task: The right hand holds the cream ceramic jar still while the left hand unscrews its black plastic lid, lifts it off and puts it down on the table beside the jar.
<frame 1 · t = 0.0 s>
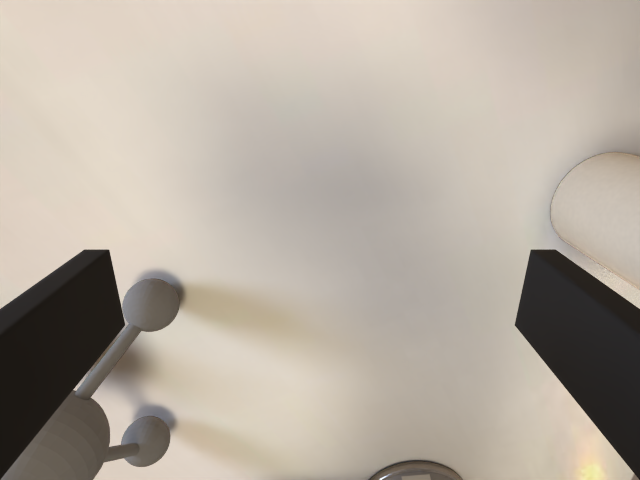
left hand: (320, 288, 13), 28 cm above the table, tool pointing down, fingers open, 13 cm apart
jar: (601, 202, 41), on the table
molecular model: (128, 340, 47), on the table
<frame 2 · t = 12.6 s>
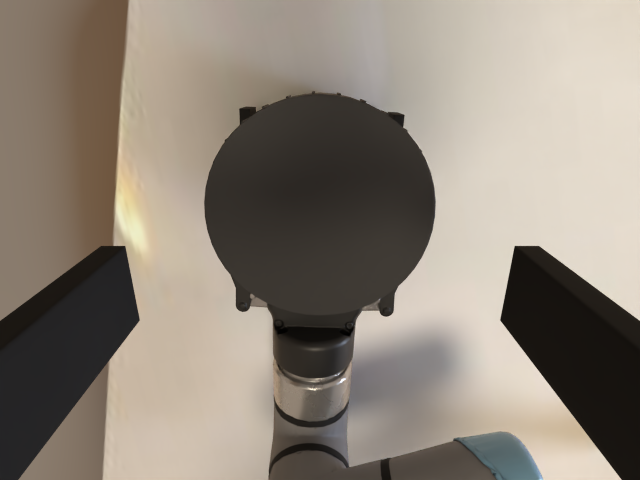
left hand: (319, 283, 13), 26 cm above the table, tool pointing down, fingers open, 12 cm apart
lid: (319, 214, 20), point 19 cm above the table, screwed on, not yet turned
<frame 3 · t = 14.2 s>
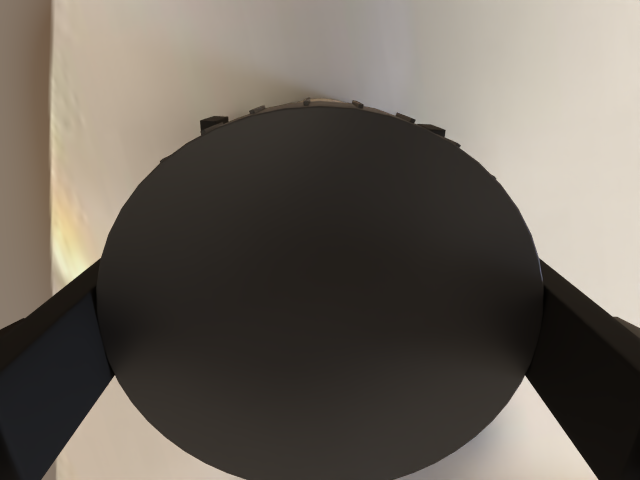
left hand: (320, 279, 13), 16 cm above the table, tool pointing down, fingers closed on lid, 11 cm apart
lid: (319, 329, 10), point 19 cm above the table, screwed on, not yet turned, touching left hand
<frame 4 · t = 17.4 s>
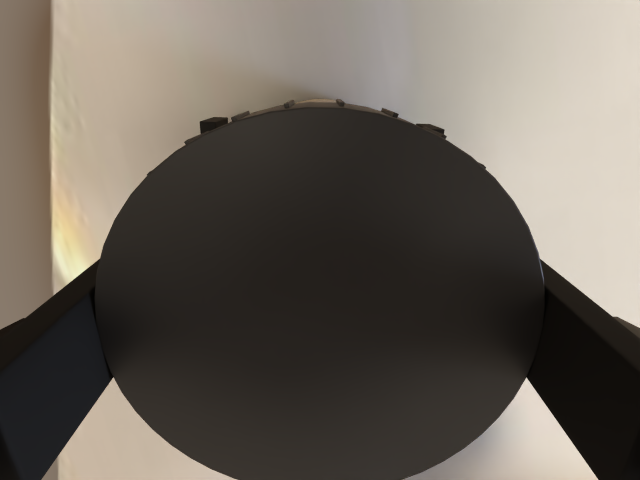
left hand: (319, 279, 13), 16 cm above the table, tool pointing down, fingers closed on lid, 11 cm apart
lid: (319, 331, 10), point 19 cm above the table, turned 100° so far, risen 0.1 cm, still on its thread, touching left hand
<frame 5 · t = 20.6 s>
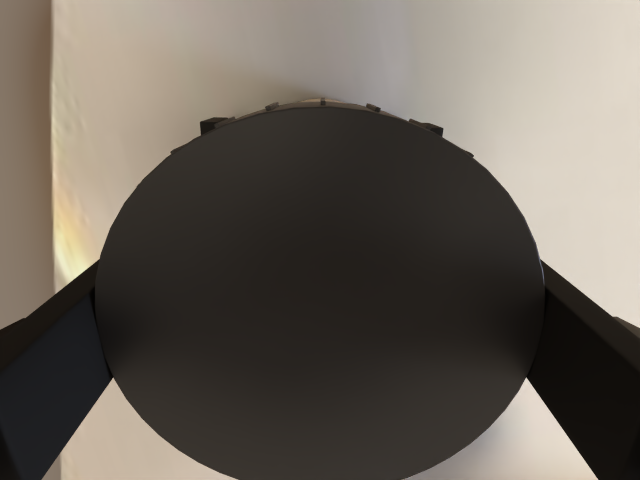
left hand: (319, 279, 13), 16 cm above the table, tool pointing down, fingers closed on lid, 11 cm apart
lid: (320, 331, 10), point 19 cm above the table, turned 200° so far, risen 0.2 cm, still on its thread, touching left hand
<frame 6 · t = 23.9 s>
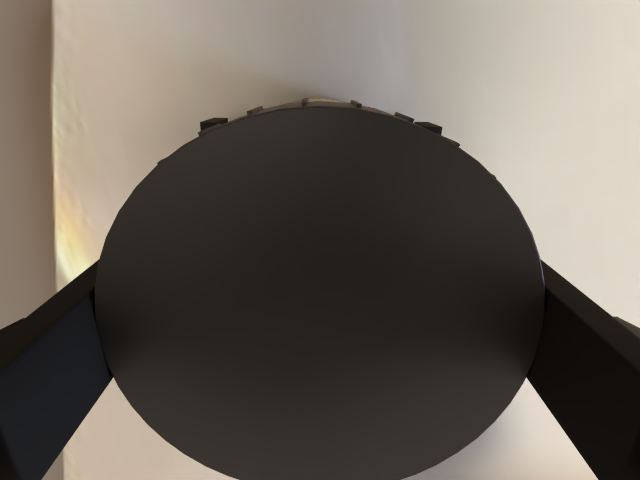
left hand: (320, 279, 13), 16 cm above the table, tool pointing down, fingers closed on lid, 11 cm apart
lid: (319, 331, 10), point 19 cm above the table, turned 299° so far, risen 0.4 cm, still on its thread, touching left hand
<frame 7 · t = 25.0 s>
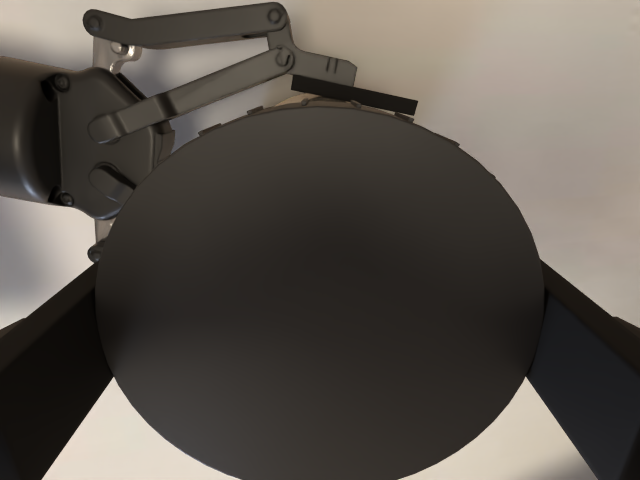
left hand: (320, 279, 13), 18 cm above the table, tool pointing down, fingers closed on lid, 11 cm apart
lid: (319, 330, 10), point 20 cm above the table, off its thread, touching left hand
jar: (316, 166, 29), on the table, touching right hand
when the left hand's fingers open (1 cm above the table, at t = 30.9 s): lid drops 2 cm, point 2 cm above the table.
when the right hand's fingers open (6 cm above the table, at t = 31.9 s): jar stays where it is, on the table.
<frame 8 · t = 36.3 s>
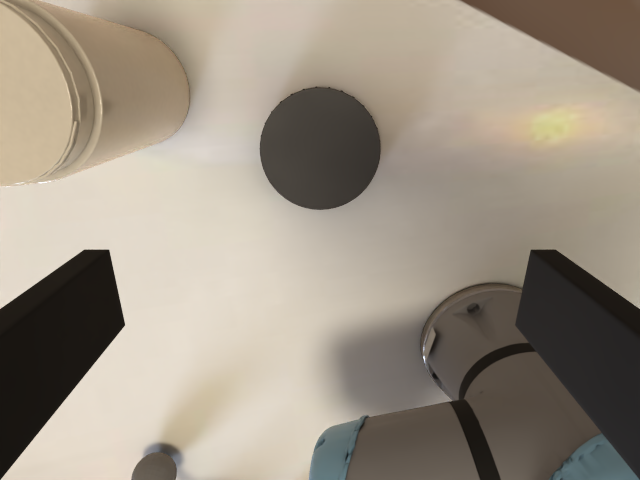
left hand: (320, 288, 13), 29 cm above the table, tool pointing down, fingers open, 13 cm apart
lid: (320, 151, 37), point 2 cm above the table, off its thread
jar: (135, 89, 37), on the table
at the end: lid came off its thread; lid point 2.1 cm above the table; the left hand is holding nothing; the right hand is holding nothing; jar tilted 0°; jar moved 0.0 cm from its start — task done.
